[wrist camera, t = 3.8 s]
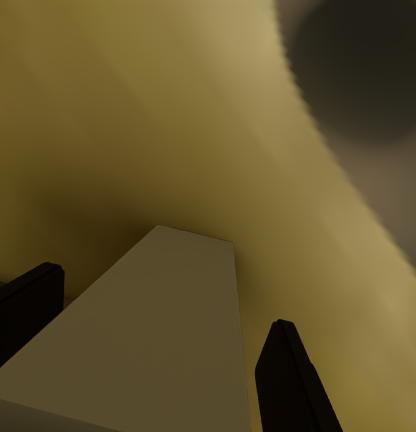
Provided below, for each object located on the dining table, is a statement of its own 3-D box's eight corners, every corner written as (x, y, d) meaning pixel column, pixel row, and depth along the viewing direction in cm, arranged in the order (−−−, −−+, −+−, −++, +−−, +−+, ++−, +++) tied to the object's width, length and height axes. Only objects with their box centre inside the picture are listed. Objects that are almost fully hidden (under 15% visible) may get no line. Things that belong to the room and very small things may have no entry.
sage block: (233, 242, 13) (254, 466, 3) (215, 306, 14) (194, 598, 5) (157, 224, 13) (-26, 391, 4) (146, 289, 14) (-9, 540, 5)
